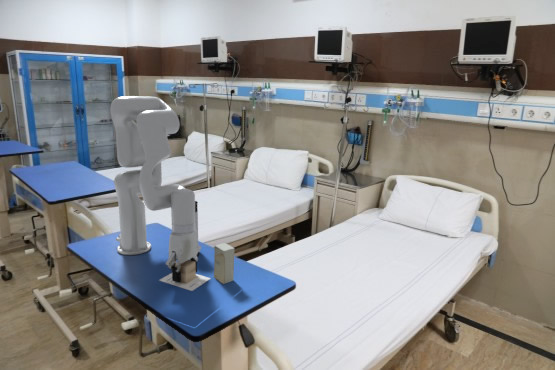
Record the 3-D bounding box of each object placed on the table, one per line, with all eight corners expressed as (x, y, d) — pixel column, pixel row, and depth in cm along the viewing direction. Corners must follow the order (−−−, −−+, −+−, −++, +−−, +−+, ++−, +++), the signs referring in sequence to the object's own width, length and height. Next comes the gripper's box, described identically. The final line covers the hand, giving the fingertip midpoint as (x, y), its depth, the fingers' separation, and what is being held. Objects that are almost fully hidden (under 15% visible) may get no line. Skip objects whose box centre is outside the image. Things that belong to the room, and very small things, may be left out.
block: (174, 280, 132) (173, 263, 131) (184, 274, 136) (183, 258, 135) (186, 284, 130) (185, 267, 128) (195, 278, 134) (195, 261, 133)
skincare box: (213, 277, 135) (213, 244, 132) (224, 274, 138) (224, 241, 135) (223, 285, 131) (223, 251, 128) (234, 281, 134) (234, 247, 131)
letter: (158, 281, 132) (158, 280, 132) (179, 269, 141) (178, 268, 141) (192, 291, 126) (192, 290, 126) (210, 279, 134) (210, 278, 134)
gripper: (191, 217, 138) (192, 264, 142) (155, 232, 123) (158, 284, 127) (209, 221, 135) (209, 269, 139) (174, 237, 119) (176, 290, 124)
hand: (185, 276), depth 133 cm, fingers open, 7 cm apart
